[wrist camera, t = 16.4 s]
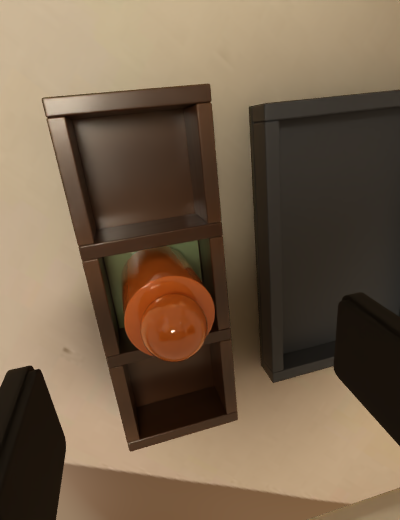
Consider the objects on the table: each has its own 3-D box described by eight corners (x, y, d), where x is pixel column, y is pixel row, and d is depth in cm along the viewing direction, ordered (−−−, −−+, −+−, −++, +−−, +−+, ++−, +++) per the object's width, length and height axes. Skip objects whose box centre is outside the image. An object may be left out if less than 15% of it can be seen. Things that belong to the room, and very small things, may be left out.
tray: (248, 106, 18) (264, 103, 16) (432, 88, 20) (463, 83, 18) (260, 365, 24) (272, 383, 22) (400, 328, 26) (421, 341, 24)
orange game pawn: (113, 252, 18) (116, 311, 12) (188, 238, 18) (227, 287, 12) (127, 318, 19) (136, 401, 13) (196, 303, 20) (234, 375, 14)
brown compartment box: (53, 105, 15) (40, 97, 13) (193, 92, 17) (210, 83, 14) (126, 412, 22) (129, 452, 19) (222, 386, 23) (238, 420, 20)
